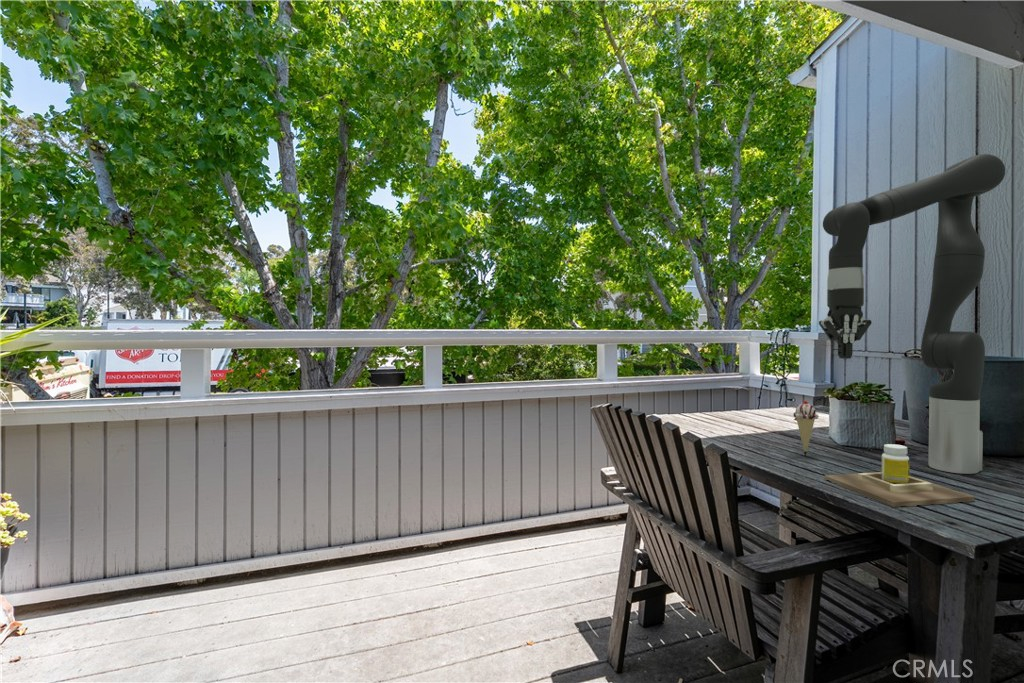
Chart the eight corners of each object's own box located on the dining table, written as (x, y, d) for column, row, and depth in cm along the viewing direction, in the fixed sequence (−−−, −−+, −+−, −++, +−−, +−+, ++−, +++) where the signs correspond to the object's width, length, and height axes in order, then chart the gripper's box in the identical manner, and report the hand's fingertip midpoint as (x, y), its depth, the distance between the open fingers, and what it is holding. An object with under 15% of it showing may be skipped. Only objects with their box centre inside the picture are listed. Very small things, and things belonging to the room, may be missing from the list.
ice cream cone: (822, 459, 134) (822, 402, 133) (800, 459, 134) (800, 402, 133) (809, 454, 139) (810, 399, 139) (788, 454, 139) (789, 399, 139)
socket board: (894, 475, 119) (894, 464, 119) (974, 501, 101) (974, 489, 101) (824, 479, 116) (824, 468, 116) (894, 507, 98) (894, 494, 98)
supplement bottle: (914, 489, 106) (914, 449, 106) (888, 488, 107) (888, 448, 106) (901, 482, 110) (901, 443, 110) (877, 481, 111) (877, 443, 111)
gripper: (857, 288, 129) (856, 357, 130) (809, 288, 127) (809, 358, 128) (882, 286, 122) (882, 358, 122) (832, 286, 120) (832, 360, 120)
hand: (844, 358), depth 125 cm, fingers closed
